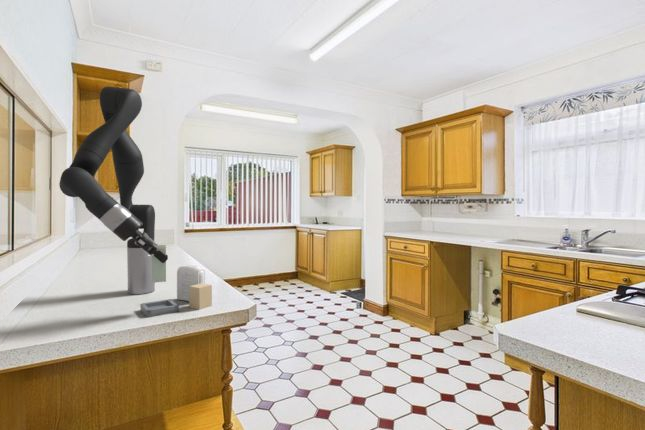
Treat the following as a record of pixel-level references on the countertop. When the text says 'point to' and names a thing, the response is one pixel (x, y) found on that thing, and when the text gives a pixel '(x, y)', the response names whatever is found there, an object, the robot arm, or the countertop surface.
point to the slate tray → (159, 308)
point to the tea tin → (159, 266)
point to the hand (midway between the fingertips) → (165, 259)
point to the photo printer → (188, 280)
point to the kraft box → (200, 296)
